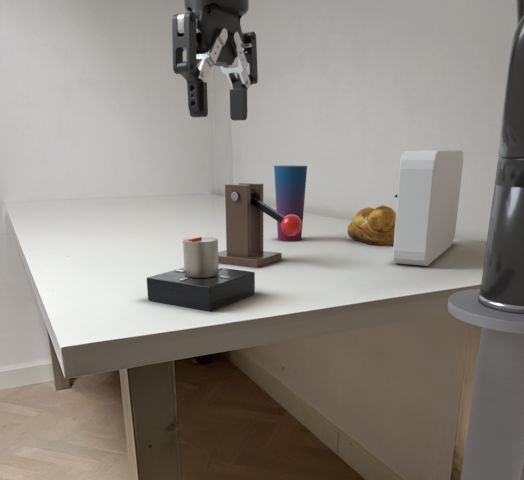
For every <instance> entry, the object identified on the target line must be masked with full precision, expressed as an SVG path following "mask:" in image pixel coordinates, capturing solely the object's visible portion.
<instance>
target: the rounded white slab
mask: <svg viewBox="0 0 524 480" xmlns="http://www.w3.org/2000/svg"><path fill="white" fill-rule="evenodd" d="M463 168H464V151H463V150H462V149H434V150H433V149H427V150H426V149H425V150H424V149H423V150H418V149H417V150H405V151H404V152H403V153H402V155H401V158H400V163H399V170H398V183H397V194H395V195H394V198H396V211H395V213H396V221H395V234H394V244H393V249H392V259H393V263H394V264H399V265H409V266H420V267H421V266H422V267H428V266H429V265H430V264H431V263H433V262H434V261H435V260H436V259H437V258H438V257H440V256H441V255H443V253H445V251H447V250H448V249H449V248H450V247H451V246H452V245H453V243H454V240H455V236H456V229H457V220H458V211H459V202H460V194H461V185H462V175H463Z"/></svg>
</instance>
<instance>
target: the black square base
mask: <svg viewBox="0 0 524 480" xmlns="http://www.w3.org/2000/svg"><path fill="white" fill-rule="evenodd" d="M255 279H256V272H255V271H248V270H241V269H234V268H226V267H219V274H218V275H217V276H214V277H208V278H192V277H187V276H185V273H184V267H181V268H177V269H174V270H169V271H166V272H162V273H159V274H158V273H157V274H155V275H152V276H147V277H146V288H147V289H146V290H147V300H148V301H149V302H150V301H151V302H154V303H155V302H156V303H160V304H168V305H171V306H177V307H184V308H188V309H195V310H200V311H205V312H206V311H207V312H212V311H216V310H218V309H220V308H222V307H225V306H228V305H230V304H233V303H236V302H238V301H240V300H243V299H245V298H248V297H250V296H253V295H255V293H256V280H255Z"/></svg>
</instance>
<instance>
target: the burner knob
mask: <svg viewBox="0 0 524 480" xmlns="http://www.w3.org/2000/svg"><path fill="white" fill-rule="evenodd" d="M182 247H183V248H182V251H183V268H184V273H185V276H187V277H192V278H208V277H214V276H217V275H218V274H219V268H220V267H219V266H220V265H219V263H218V252H219V238H217V237H213V236H190V237H185V238H183V239H182Z"/></svg>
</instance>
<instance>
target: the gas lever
mask: <svg viewBox="0 0 524 480" xmlns="http://www.w3.org/2000/svg"><path fill="white" fill-rule="evenodd" d="M256 193H257V192H256V191H254V190H252V189H251V205H253V206H255V207H256V208H258V209H259V210H261V211H263V214H266V215H267V216H269V217H270V218H271V219H273V220H275V221H276V222H277V221H278V222H280V223H281V229H282V231H283V232H284V233H285V234H286V235H289V236H294V235H296V234H298V233H299V232H300V230H301V228H302V229H303V224H302V222H301V220H300V218H299V217H298V216H296V215H293V214H290V215H287V216H284V215H282V214H281V213H279V212H277V211H276V209H275V208H272V207H271V206H270V205H268V204H267V203H265V202H264V201H263V202H262V201H260V200H258V199H257V198H255V196H256Z"/></svg>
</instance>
